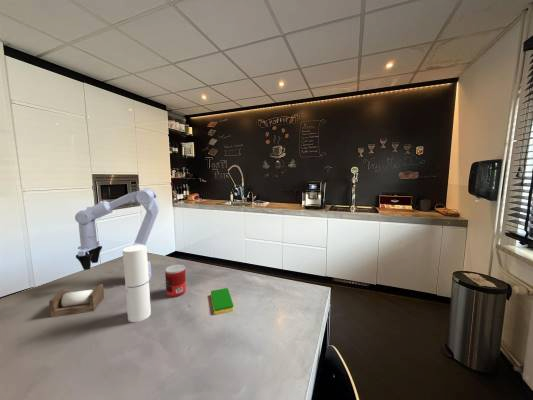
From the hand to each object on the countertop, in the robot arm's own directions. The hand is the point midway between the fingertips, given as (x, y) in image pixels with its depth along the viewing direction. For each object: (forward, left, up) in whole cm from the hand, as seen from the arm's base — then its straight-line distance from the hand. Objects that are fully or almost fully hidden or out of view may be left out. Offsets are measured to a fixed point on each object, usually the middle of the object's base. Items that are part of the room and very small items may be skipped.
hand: (91, 265), depth 99 cm
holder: (-2, +18, -9) cm, 20 cm away
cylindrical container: (-26, +30, -10) cm, 41 cm away
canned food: (-37, +17, -10) cm, 42 cm away
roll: (-2, +18, -6) cm, 19 cm away
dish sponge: (-55, +30, -10) cm, 63 cm away
